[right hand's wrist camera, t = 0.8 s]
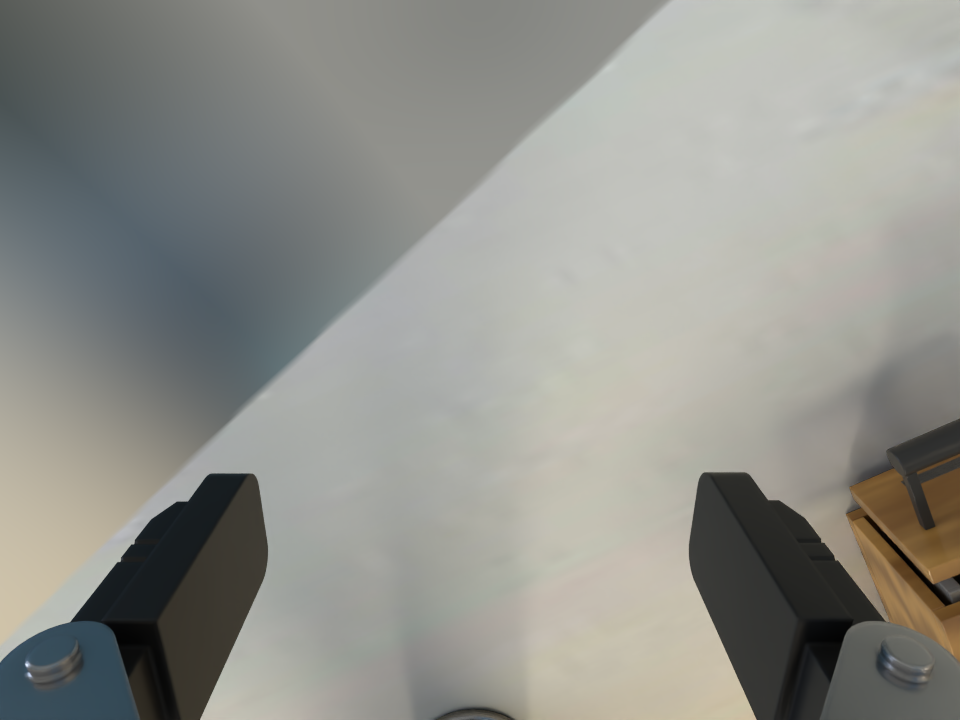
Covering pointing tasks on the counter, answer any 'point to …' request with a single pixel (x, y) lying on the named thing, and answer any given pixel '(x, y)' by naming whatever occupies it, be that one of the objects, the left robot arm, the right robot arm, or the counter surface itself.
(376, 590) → the counter surface
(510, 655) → the counter surface
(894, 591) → the cabinet
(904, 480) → the drawer
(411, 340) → the counter surface
